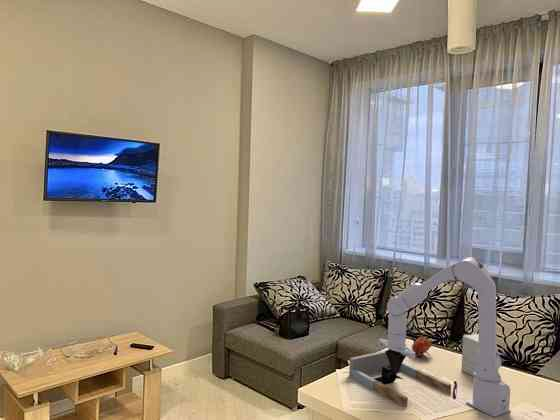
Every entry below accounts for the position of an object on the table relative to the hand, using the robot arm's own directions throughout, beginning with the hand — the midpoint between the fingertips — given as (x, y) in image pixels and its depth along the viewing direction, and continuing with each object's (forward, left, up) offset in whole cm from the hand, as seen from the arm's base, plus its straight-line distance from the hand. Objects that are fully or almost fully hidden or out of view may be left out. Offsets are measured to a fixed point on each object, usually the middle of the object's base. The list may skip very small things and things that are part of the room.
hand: (395, 372), depth 147 cm
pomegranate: (+12, -27, -3) cm, 30 cm away
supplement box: (-8, -32, -3) cm, 33 cm away
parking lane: (-2, 0, -3) cm, 4 cm away
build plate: (+2, 0, -4) cm, 4 cm away
